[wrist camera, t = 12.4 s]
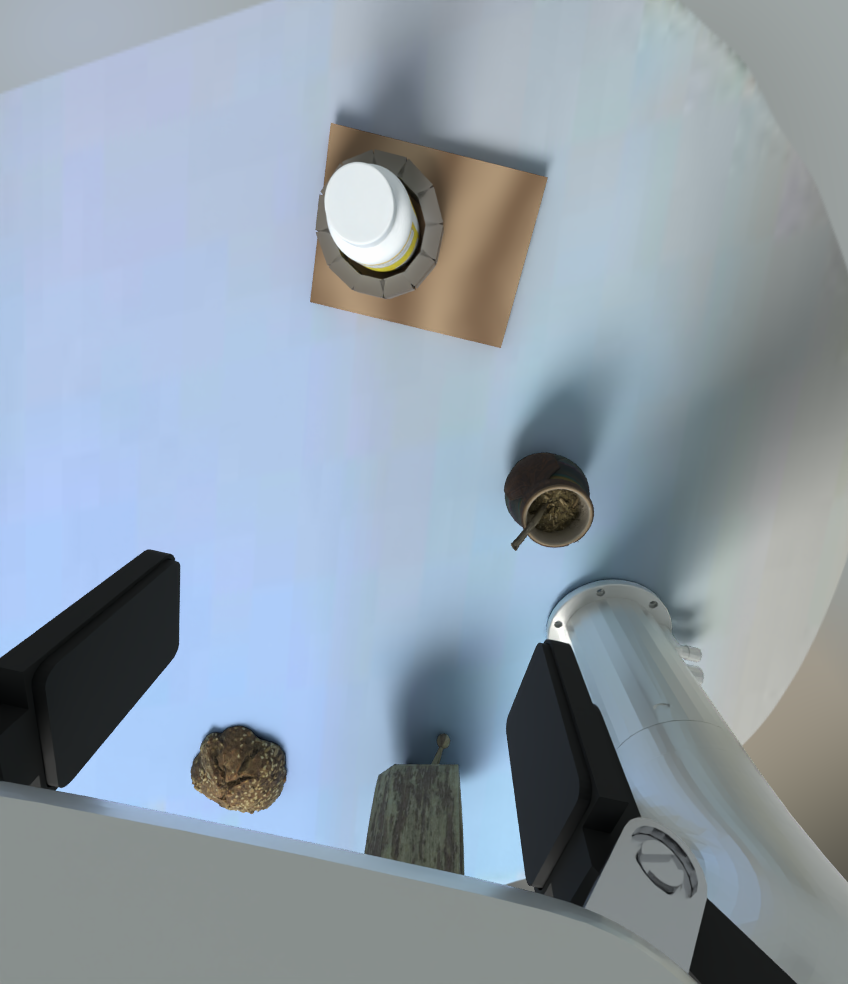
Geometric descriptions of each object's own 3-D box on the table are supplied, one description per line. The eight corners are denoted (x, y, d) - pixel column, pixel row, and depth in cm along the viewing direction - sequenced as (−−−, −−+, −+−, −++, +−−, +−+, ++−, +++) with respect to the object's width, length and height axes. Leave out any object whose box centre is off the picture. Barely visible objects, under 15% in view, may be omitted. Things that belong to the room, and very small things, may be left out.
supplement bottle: (347, 195, 33) (306, 146, 23) (419, 191, 32) (406, 141, 23) (353, 275, 35) (317, 259, 25) (421, 273, 34) (409, 256, 25)
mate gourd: (593, 491, 41) (633, 542, 32) (523, 531, 43) (542, 589, 34) (555, 429, 39) (586, 464, 30) (484, 474, 41) (492, 520, 32)
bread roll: (275, 803, 61) (260, 842, 56) (189, 773, 60) (167, 811, 55) (302, 744, 56) (289, 782, 52) (210, 711, 55) (188, 747, 50)
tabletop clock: (462, 803, 58) (469, 1126, 35) (395, 802, 59) (358, 1118, 35) (457, 722, 53) (461, 1038, 29) (383, 723, 54) (330, 1031, 30)
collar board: (544, 182, 33) (555, 165, 29) (499, 347, 37) (504, 349, 33) (335, 129, 32) (321, 106, 29) (314, 302, 37) (300, 300, 33)
